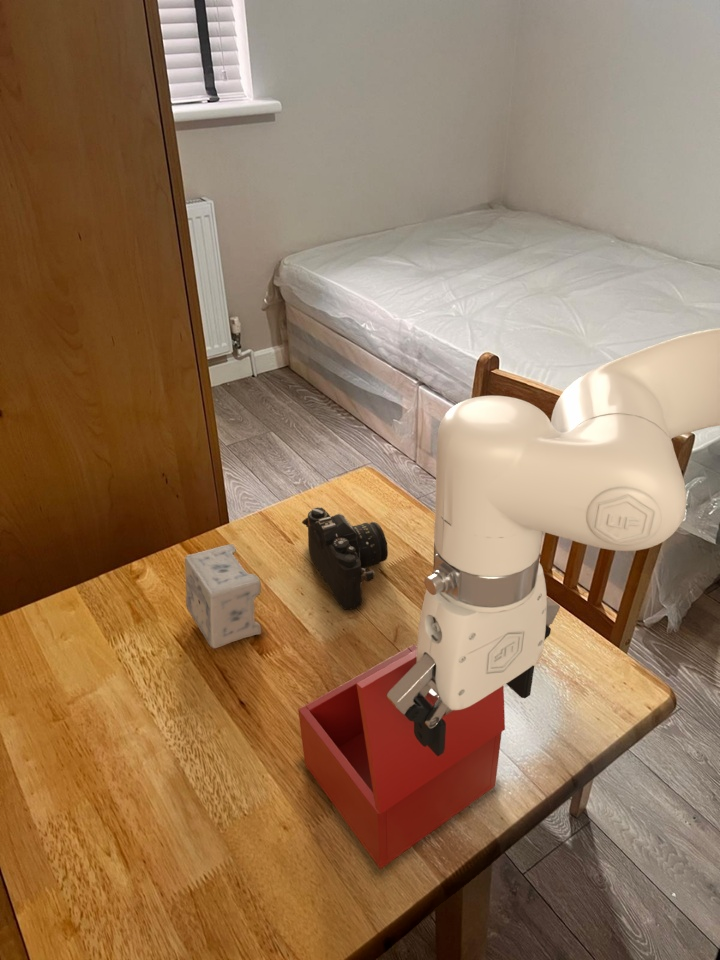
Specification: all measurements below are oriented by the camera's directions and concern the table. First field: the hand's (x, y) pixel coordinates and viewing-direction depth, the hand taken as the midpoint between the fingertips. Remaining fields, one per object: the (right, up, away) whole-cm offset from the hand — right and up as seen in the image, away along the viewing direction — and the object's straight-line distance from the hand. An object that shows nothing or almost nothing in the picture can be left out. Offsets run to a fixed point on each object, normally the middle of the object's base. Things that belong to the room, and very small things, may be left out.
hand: (473, 713), depth 63 cm
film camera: (-11, +6, +49) cm, 51 cm away
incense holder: (-29, 0, +41) cm, 50 cm away
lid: (-3, -1, +6) cm, 6 cm away
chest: (-5, -13, +20) cm, 25 cm away
